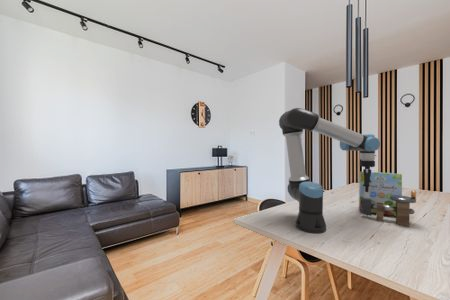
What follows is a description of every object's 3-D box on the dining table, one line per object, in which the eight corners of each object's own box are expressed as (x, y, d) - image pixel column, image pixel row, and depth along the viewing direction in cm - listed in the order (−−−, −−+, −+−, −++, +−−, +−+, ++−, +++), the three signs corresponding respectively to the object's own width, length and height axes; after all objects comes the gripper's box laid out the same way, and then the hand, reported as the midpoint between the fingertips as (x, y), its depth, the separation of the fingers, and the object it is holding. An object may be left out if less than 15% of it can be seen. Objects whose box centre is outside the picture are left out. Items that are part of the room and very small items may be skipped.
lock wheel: (412, 199, 116) (412, 189, 116) (419, 204, 107) (419, 193, 106) (388, 196, 122) (388, 187, 121) (392, 201, 112) (392, 191, 112)
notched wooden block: (409, 227, 109) (409, 203, 109) (376, 221, 118) (377, 198, 117) (407, 222, 116) (407, 199, 116) (376, 216, 125) (376, 195, 124)
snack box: (359, 211, 131) (359, 171, 135) (358, 209, 139) (358, 171, 142) (403, 216, 121) (402, 173, 124) (399, 215, 128) (398, 174, 132)
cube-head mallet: (414, 222, 110) (415, 206, 110) (361, 214, 124) (362, 199, 124) (413, 220, 113) (414, 204, 113) (362, 212, 127) (362, 198, 127)
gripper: (374, 161, 111) (374, 200, 112) (375, 158, 131) (374, 191, 132) (358, 161, 116) (358, 198, 116) (361, 158, 136) (360, 190, 136)
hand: (367, 195), depth 124 cm, fingers open, 13 cm apart
